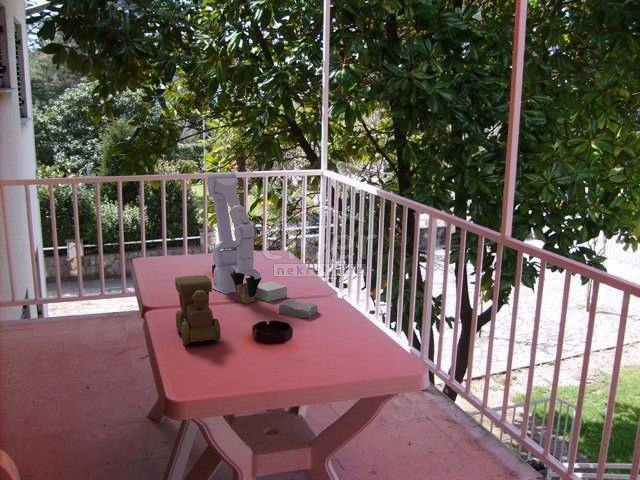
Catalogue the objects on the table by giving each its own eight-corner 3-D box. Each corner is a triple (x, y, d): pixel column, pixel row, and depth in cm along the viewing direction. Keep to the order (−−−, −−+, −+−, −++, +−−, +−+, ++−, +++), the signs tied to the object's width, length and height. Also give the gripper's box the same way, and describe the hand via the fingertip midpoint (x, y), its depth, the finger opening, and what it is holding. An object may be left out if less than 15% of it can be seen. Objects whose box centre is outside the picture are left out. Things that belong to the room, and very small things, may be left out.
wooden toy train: (173, 327, 210) (172, 276, 206) (209, 323, 213) (208, 273, 210) (184, 350, 191) (182, 295, 188) (223, 345, 195) (222, 291, 192)
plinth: (252, 295, 243) (252, 285, 242) (271, 291, 249) (271, 281, 248) (267, 301, 237) (267, 291, 236) (286, 297, 243) (286, 286, 242)
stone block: (290, 311, 233) (276, 313, 224) (292, 297, 233) (278, 299, 224) (320, 318, 228) (306, 321, 219) (322, 304, 228) (309, 307, 219)
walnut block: (236, 301, 237) (236, 284, 236) (247, 298, 240) (246, 282, 239) (244, 304, 234) (244, 287, 233) (254, 301, 237) (254, 285, 236)
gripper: (224, 254, 236) (224, 291, 239) (248, 262, 226) (248, 301, 229) (240, 252, 241) (240, 288, 244) (265, 259, 230) (265, 297, 233)
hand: (245, 294), depth 236 cm, fingers open, 7 cm apart
